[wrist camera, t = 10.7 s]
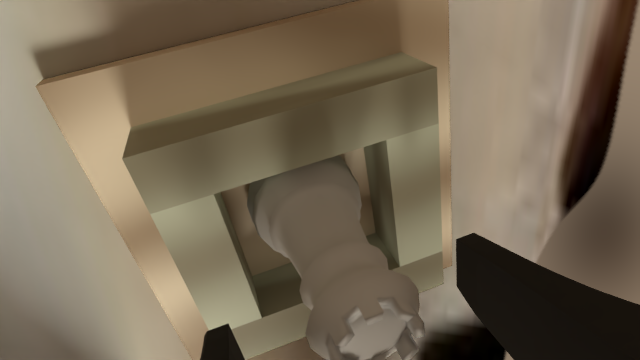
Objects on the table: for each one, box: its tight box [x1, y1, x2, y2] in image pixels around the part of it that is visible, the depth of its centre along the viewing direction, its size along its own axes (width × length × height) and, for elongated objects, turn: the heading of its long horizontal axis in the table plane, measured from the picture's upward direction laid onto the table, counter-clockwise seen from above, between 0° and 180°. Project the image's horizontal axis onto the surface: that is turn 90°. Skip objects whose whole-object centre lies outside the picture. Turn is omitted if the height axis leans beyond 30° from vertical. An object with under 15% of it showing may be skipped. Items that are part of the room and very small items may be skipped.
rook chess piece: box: [247, 155, 425, 360], centre depth 13 cm, size 4×4×8 cm
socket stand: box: [36, 0, 452, 360], centre depth 16 cm, size 14×14×3 cm
